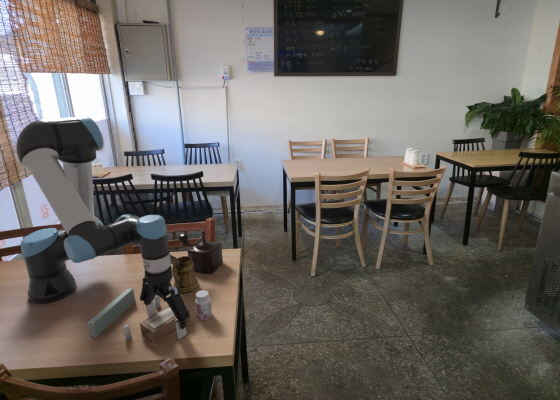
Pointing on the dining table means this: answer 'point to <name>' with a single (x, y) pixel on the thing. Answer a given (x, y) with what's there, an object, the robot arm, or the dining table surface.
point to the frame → (160, 326)
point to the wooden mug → (184, 273)
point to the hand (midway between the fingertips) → (167, 328)
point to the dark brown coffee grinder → (203, 254)
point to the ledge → (115, 313)
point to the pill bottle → (203, 305)
